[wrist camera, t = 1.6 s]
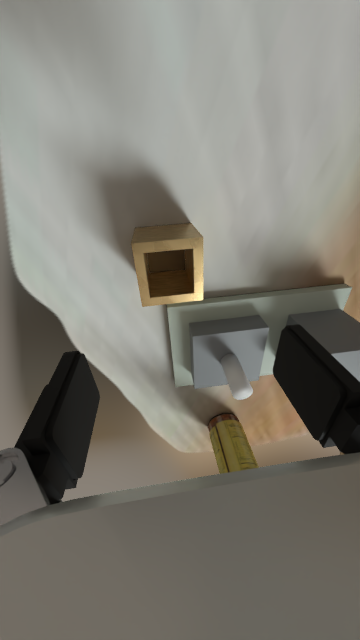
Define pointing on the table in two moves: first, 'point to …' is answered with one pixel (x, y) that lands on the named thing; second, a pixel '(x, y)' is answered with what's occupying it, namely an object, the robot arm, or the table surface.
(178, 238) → the hollow wooden square tube
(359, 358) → the coupling rig
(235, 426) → the sauce bottle
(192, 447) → the table surface
